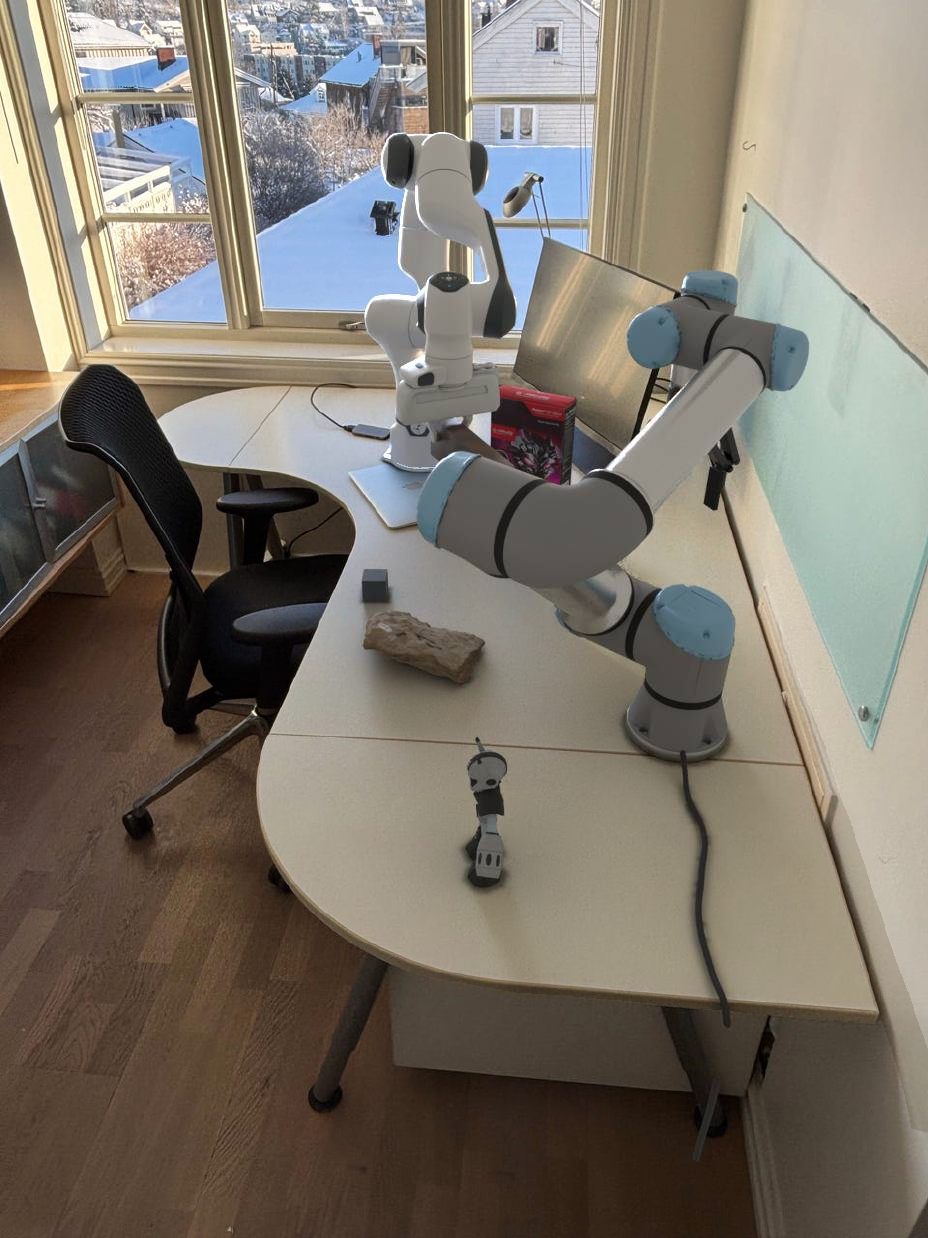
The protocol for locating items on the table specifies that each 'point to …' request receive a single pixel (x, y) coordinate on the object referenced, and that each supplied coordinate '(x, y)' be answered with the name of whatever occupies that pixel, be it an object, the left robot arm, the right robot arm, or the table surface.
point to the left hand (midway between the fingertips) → (448, 438)
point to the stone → (423, 644)
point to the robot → (486, 816)
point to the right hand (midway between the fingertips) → (675, 515)
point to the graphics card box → (535, 432)
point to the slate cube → (375, 585)
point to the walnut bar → (462, 442)
